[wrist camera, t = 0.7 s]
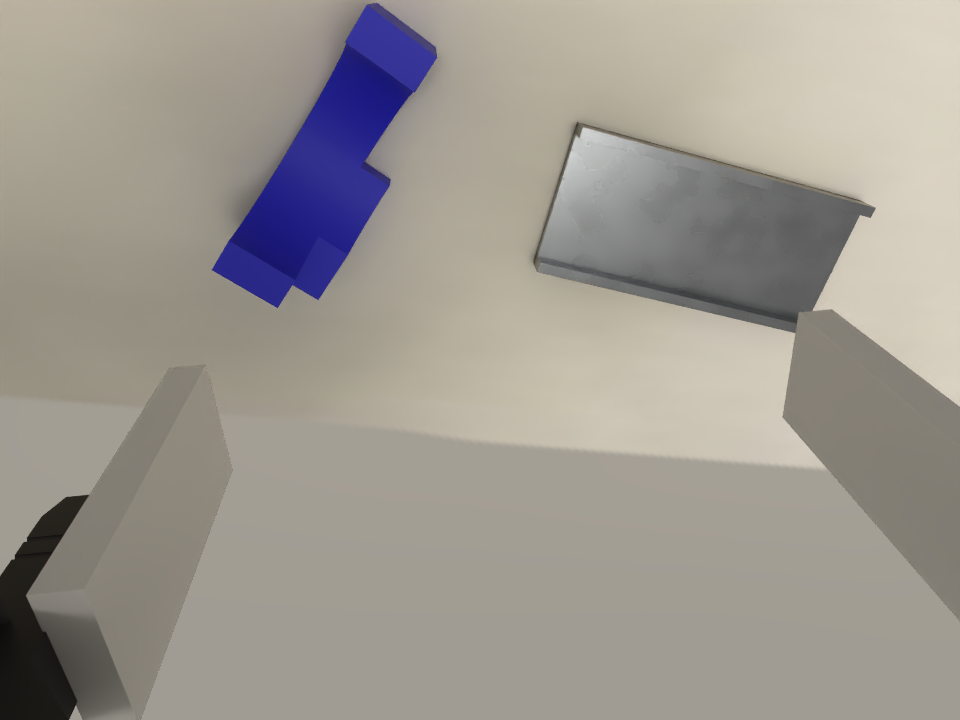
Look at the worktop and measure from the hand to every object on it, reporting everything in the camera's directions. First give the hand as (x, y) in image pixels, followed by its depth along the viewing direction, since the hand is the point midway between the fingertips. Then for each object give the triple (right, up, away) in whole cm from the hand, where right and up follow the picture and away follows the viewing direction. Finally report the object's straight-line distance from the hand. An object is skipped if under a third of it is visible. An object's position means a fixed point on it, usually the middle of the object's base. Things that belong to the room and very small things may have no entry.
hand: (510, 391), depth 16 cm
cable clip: (-7, +11, +18) cm, 22 cm away
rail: (+10, +7, +20) cm, 24 cm away
